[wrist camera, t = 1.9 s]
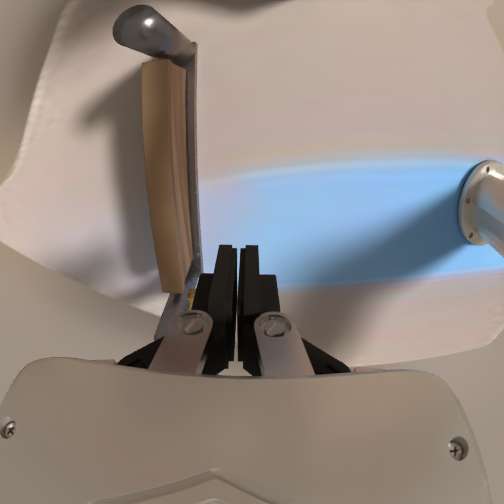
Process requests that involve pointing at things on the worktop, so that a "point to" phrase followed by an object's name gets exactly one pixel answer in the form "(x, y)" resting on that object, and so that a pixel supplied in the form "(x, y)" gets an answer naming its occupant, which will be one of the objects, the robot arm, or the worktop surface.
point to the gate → (167, 170)
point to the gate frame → (185, 56)
